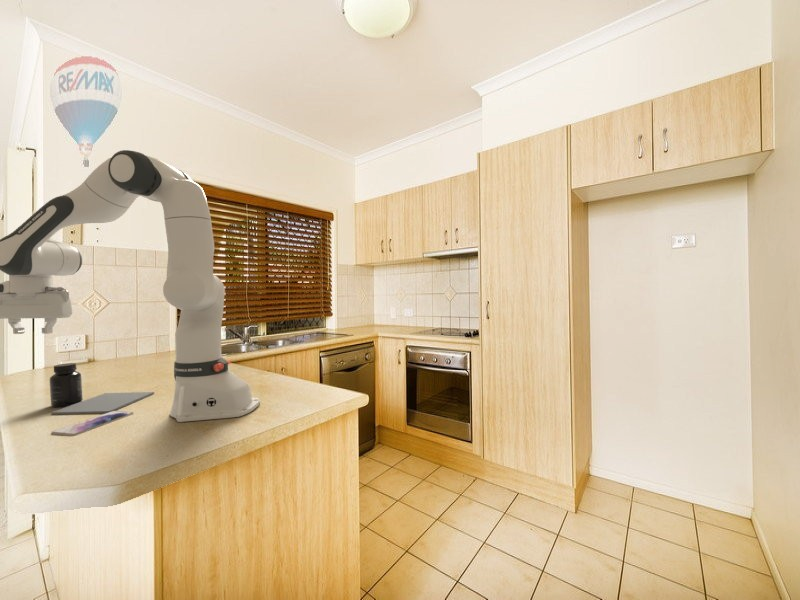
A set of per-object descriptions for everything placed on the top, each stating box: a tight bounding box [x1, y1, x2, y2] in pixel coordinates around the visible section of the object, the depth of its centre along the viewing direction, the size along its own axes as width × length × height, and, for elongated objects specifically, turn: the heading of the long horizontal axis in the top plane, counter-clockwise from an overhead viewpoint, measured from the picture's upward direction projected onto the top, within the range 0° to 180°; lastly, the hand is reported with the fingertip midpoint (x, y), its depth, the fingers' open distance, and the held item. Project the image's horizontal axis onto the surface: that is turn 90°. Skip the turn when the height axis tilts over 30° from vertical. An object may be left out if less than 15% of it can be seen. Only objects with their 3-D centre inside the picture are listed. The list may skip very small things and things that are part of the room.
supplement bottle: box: [49, 362, 84, 409], centre depth 102 cm, size 7×7×12 cm
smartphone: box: [50, 410, 134, 437], centre depth 87 cm, size 7×1×15 cm
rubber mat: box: [50, 391, 155, 416], centre depth 102 cm, size 16×18×1 cm
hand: (33, 333), depth 101 cm, fingers open, 7 cm apart
